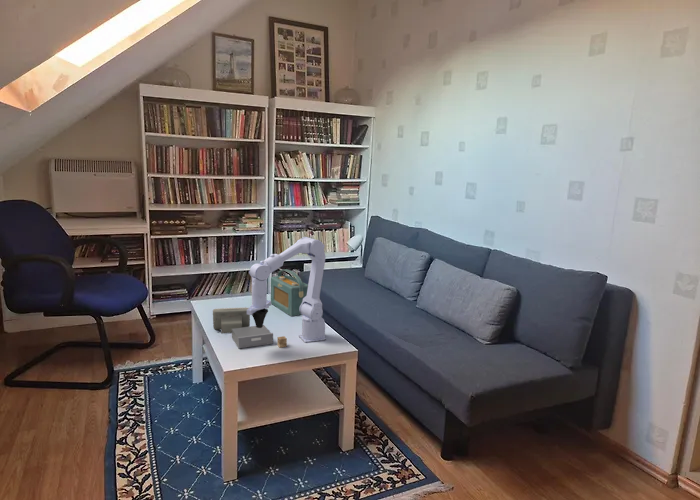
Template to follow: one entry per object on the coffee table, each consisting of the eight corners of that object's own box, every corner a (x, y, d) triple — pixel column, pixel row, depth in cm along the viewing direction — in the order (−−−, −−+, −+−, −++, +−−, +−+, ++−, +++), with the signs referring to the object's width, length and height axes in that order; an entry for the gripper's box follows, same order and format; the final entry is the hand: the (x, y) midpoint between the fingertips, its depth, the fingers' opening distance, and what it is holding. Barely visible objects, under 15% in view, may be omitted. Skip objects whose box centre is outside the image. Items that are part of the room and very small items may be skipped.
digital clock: (251, 327, 215) (251, 304, 213) (247, 334, 206) (247, 310, 205) (215, 326, 215) (215, 304, 213) (210, 333, 206) (210, 310, 204)
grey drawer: (264, 333, 207) (264, 324, 206) (273, 343, 196) (273, 333, 195) (231, 338, 200) (231, 328, 200) (238, 348, 190) (238, 338, 189)
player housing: (263, 333, 208) (263, 324, 207) (271, 343, 197) (271, 334, 196) (231, 337, 201) (231, 328, 201) (238, 347, 191) (238, 338, 190)
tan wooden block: (284, 344, 196) (284, 336, 196) (286, 346, 194) (286, 338, 193) (277, 345, 195) (277, 337, 194) (279, 347, 192) (279, 339, 192)
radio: (269, 303, 251) (269, 267, 248) (287, 300, 257) (287, 265, 254) (291, 317, 231) (291, 277, 227) (310, 314, 237) (311, 275, 233)
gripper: (257, 300, 176) (257, 334, 179) (277, 291, 190) (277, 323, 192) (241, 297, 179) (242, 331, 181) (262, 288, 192) (262, 320, 195)
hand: (259, 327), depth 187 cm, fingers closed
